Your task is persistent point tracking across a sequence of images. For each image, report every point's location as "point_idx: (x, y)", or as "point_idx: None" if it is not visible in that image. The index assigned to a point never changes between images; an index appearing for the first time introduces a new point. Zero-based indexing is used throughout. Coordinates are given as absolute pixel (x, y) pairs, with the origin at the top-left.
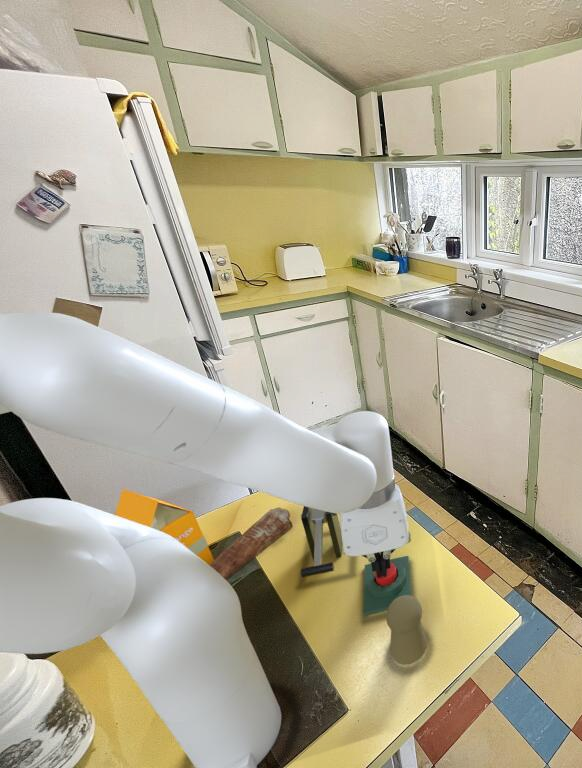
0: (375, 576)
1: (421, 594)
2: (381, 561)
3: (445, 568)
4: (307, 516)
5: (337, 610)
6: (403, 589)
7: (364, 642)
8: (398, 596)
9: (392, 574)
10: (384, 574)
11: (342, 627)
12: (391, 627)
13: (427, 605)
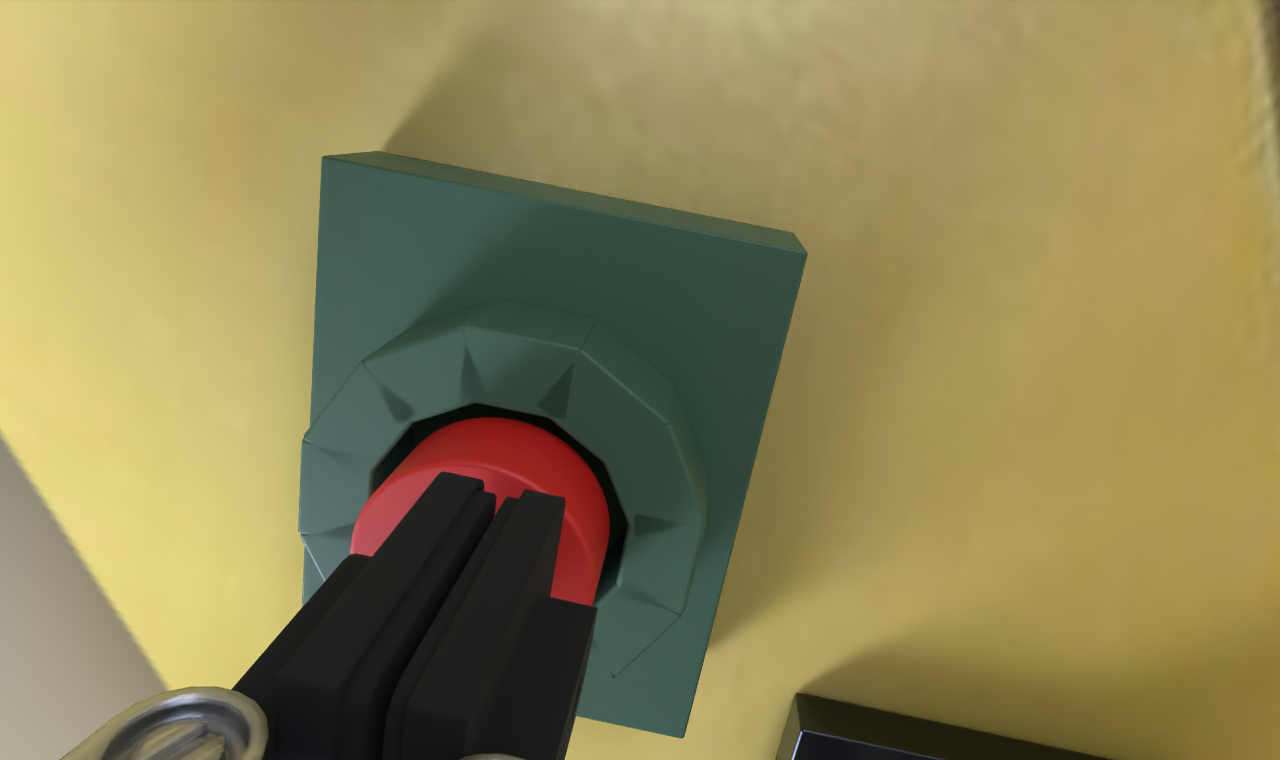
0: (593, 552)
1: (287, 268)
2: (352, 692)
3: (63, 418)
4: None
5: (982, 447)
6: (385, 333)
7: (845, 24)
8: (443, 279)
9: (392, 483)
10: (451, 496)
11: (986, 269)
12: None
13: (249, 135)
